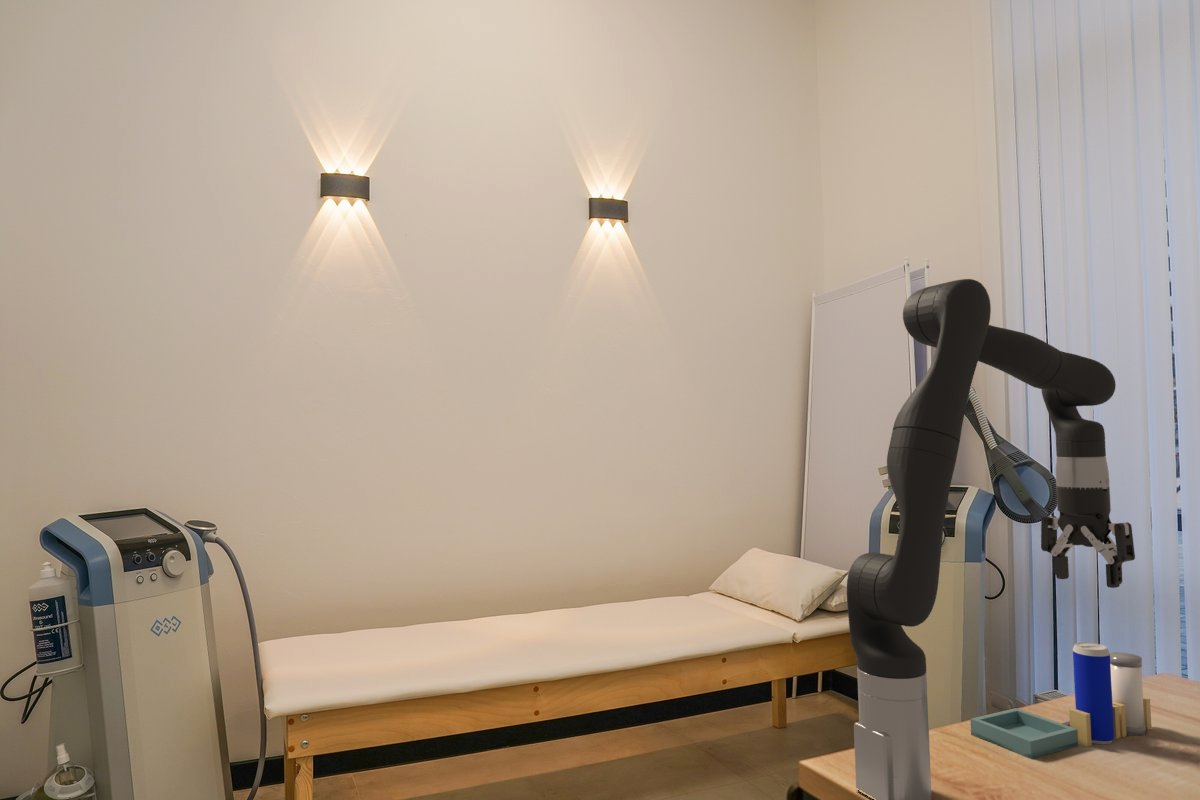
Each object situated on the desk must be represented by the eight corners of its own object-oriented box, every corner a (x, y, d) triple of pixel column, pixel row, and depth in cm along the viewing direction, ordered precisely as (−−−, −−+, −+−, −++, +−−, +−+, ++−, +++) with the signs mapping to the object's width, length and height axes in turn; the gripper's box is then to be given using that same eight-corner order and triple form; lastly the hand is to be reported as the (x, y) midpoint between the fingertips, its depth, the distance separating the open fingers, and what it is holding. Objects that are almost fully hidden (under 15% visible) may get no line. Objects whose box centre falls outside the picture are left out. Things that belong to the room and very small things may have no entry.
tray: (1031, 758, 120) (1030, 741, 120) (971, 734, 130) (970, 718, 130) (1078, 745, 125) (1077, 729, 125) (1016, 723, 135) (1016, 708, 135)
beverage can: (1103, 733, 129) (1099, 642, 130) (1121, 745, 124) (1116, 650, 125) (1071, 732, 130) (1066, 641, 131) (1087, 745, 125) (1082, 650, 126)
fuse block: (1085, 747, 124) (1084, 715, 124) (1052, 734, 129) (1050, 704, 130) (1151, 728, 131) (1149, 698, 131) (1117, 718, 136) (1115, 689, 136)
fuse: (1134, 737, 128) (1130, 661, 128) (1105, 727, 132) (1101, 654, 132) (1152, 732, 129) (1148, 657, 130) (1123, 723, 134) (1119, 651, 134)
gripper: (1027, 483, 134) (1032, 578, 133) (1110, 487, 121) (1116, 592, 120) (1057, 481, 137) (1061, 574, 136) (1141, 485, 124) (1147, 587, 123)
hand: (1087, 582), depth 128 cm, fingers open, 8 cm apart
